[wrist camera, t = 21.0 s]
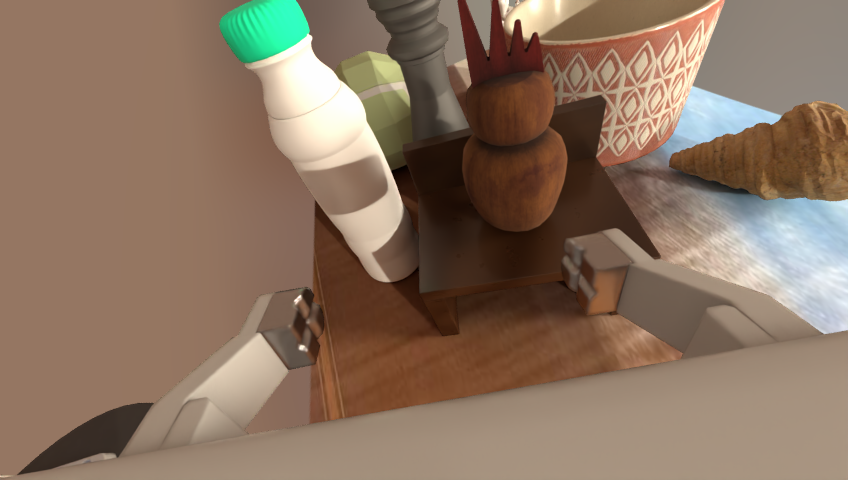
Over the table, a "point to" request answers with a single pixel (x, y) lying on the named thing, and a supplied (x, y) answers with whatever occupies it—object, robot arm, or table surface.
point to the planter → (622, 61)
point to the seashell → (779, 156)
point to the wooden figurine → (510, 128)
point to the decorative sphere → (381, 101)
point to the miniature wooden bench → (507, 250)
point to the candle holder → (422, 64)
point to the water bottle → (325, 135)
